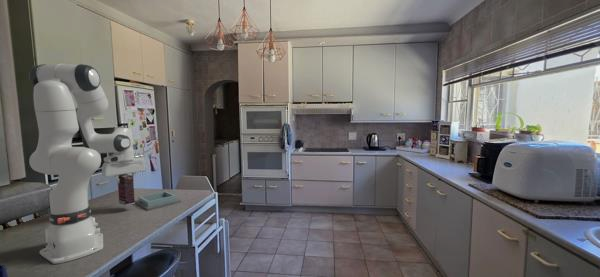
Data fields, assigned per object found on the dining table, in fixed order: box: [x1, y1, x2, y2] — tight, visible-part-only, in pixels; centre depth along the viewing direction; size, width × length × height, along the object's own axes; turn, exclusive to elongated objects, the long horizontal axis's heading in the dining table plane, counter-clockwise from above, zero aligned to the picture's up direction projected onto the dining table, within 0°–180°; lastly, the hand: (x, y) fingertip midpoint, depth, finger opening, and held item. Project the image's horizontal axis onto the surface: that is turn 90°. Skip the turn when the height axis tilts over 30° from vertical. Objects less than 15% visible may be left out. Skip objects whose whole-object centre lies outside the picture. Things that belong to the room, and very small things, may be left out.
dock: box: [134, 190, 182, 211], centre depth 153 cm, size 22×18×4 cm
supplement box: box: [117, 173, 136, 207], centre depth 141 cm, size 9×5×16 cm, turn 55°
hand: (125, 181), depth 140 cm, fingers closed on supplement box, 5 cm apart
